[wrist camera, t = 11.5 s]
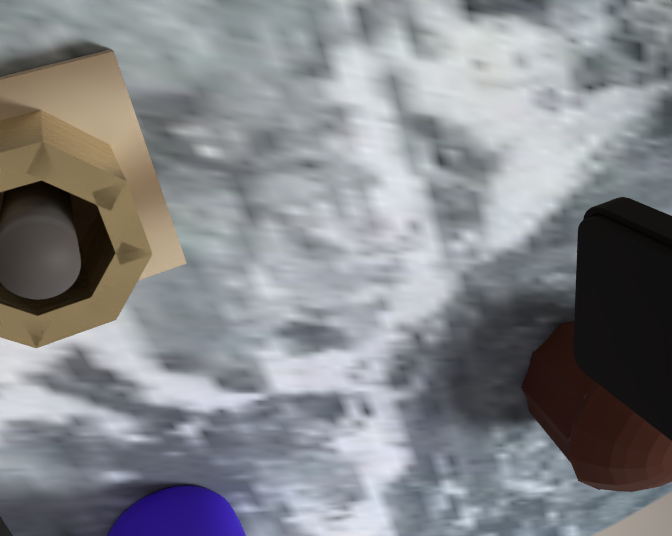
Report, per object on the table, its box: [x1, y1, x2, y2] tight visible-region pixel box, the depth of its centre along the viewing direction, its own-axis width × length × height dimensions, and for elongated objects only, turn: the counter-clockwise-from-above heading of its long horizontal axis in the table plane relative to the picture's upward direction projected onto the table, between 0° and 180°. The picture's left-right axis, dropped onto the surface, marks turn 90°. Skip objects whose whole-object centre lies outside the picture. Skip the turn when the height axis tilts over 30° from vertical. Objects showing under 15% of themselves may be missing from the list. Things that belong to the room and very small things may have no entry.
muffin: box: [522, 321, 672, 492], centre depth 43 cm, size 12×11×10 cm
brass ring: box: [0, 110, 153, 348], centre depth 24 cm, size 7×7×6 cm
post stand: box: [0, 49, 186, 299], centre depth 24 cm, size 10×10×8 cm
